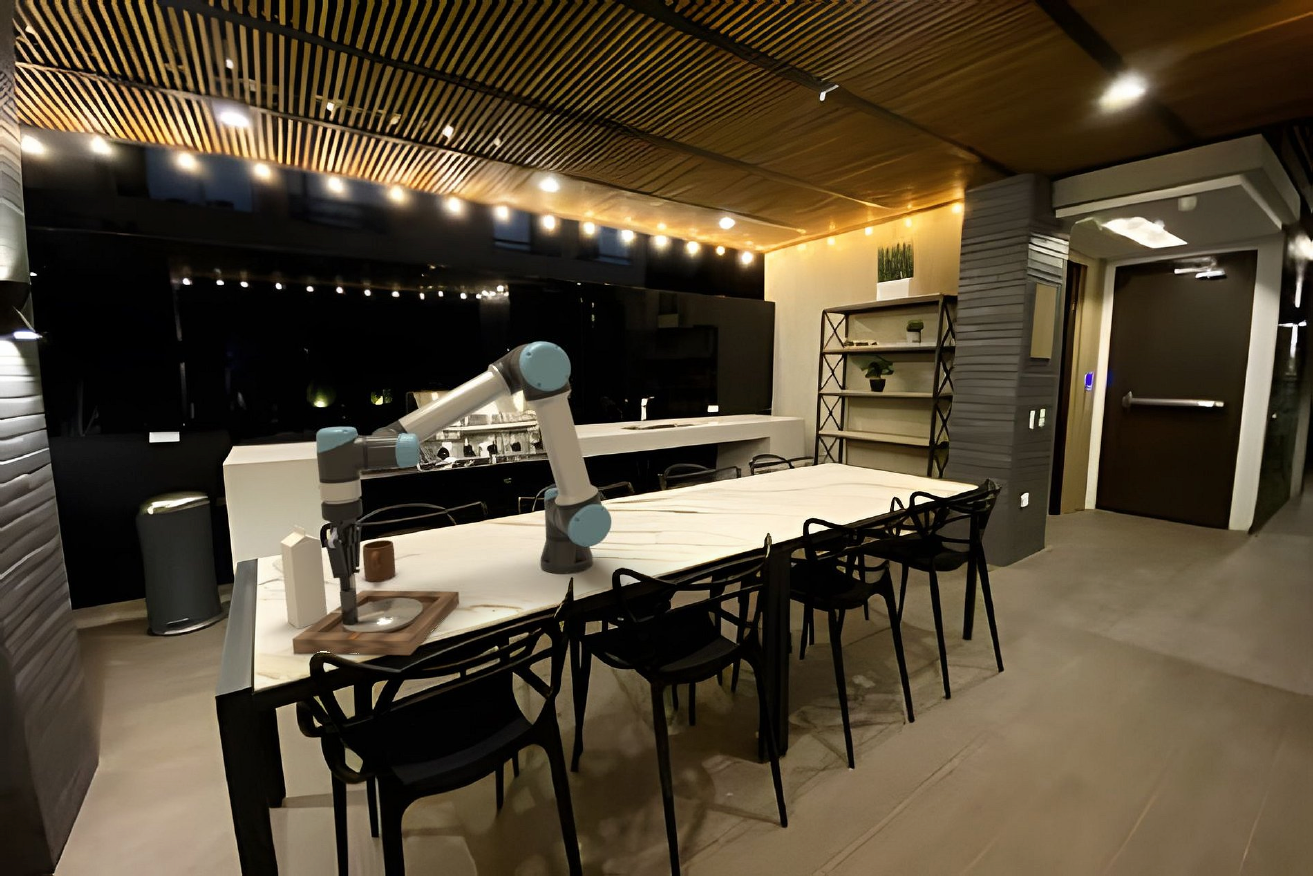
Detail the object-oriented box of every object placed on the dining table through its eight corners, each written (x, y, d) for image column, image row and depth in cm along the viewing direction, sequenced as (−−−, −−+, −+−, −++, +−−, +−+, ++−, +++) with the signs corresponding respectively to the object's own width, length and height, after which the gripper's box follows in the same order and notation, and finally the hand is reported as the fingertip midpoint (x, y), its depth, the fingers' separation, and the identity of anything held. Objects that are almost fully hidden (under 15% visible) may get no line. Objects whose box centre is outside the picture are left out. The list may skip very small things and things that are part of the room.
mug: (391, 586, 141) (389, 552, 140) (359, 590, 138) (356, 555, 137) (397, 570, 152) (395, 538, 151) (367, 574, 150) (365, 541, 148)
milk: (316, 612, 126) (309, 521, 123) (328, 619, 122) (320, 526, 120) (287, 622, 121) (278, 527, 118) (297, 629, 117) (289, 532, 115)
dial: (411, 596, 130) (409, 564, 129) (432, 620, 118) (430, 584, 117) (336, 616, 120) (333, 581, 119) (350, 643, 107) (347, 605, 106)
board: (459, 603, 130) (458, 590, 130) (410, 655, 106) (409, 640, 106) (363, 602, 131) (362, 589, 131) (293, 653, 107) (292, 638, 107)
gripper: (336, 492, 120) (344, 592, 123) (307, 507, 107) (316, 618, 110) (372, 491, 121) (378, 590, 124) (346, 506, 108) (354, 616, 111)
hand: (349, 603), depth 117 cm, fingers closed
